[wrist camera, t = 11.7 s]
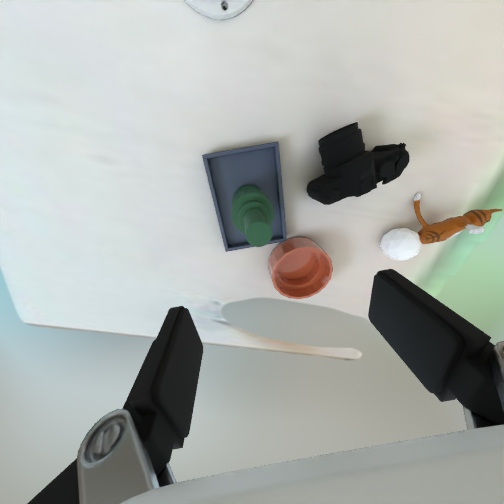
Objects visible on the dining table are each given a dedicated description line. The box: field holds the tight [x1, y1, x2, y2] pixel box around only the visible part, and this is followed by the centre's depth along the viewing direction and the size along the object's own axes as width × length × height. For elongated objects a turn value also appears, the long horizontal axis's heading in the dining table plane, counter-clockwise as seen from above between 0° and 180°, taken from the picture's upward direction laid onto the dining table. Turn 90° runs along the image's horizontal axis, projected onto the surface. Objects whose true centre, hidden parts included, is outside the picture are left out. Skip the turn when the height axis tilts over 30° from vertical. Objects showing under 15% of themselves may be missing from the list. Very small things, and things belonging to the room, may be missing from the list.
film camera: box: [307, 122, 409, 205], centre depth 30 cm, size 15×10×9 cm, turn 115°
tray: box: [202, 142, 287, 252], centre depth 35 cm, size 17×12×2 cm
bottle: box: [231, 184, 274, 247], centre depth 28 cm, size 6×6×18 cm
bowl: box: [268, 237, 333, 299], centre depth 40 cm, size 12×12×6 cm
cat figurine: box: [380, 193, 502, 261], centre depth 37 cm, size 13×12×18 cm
